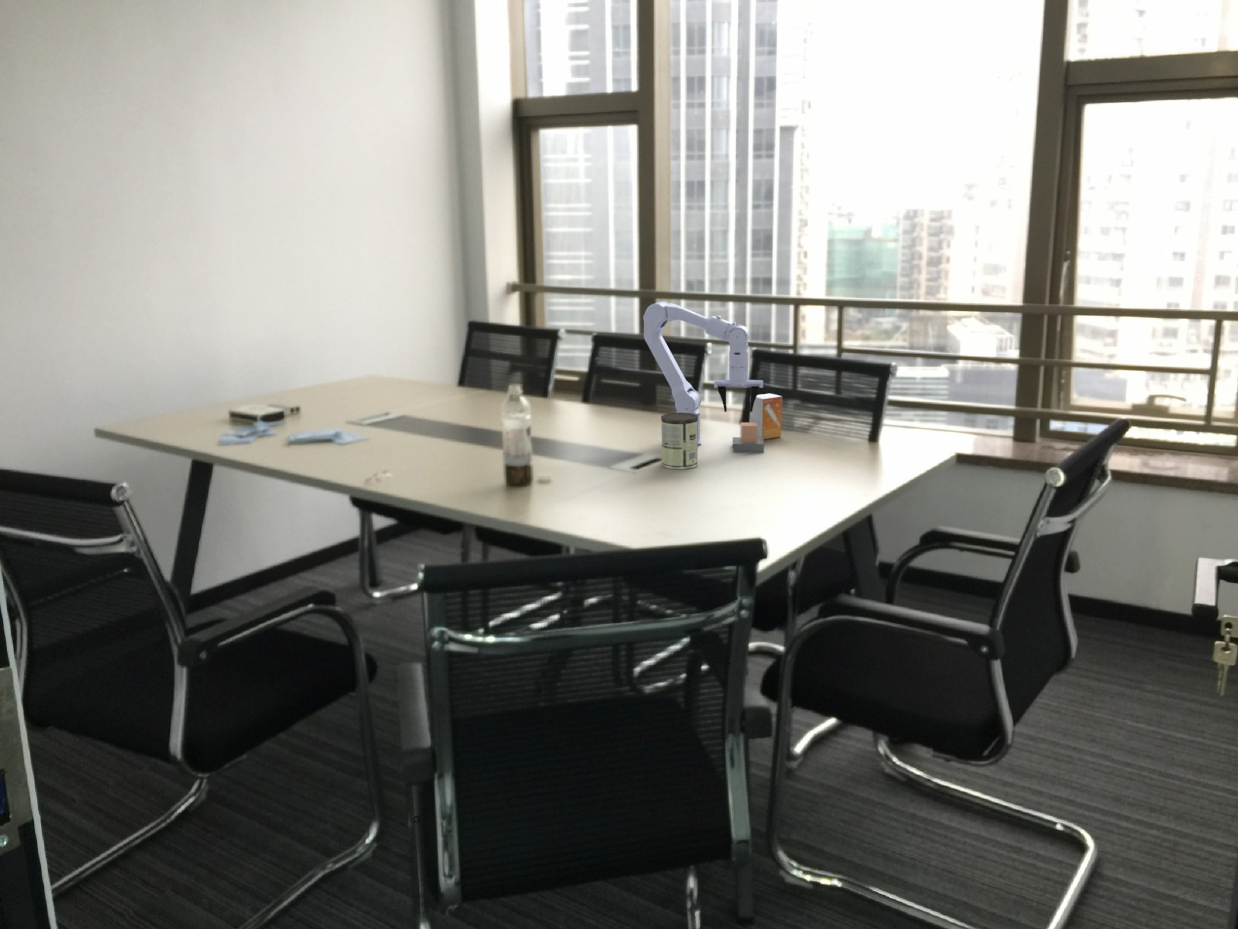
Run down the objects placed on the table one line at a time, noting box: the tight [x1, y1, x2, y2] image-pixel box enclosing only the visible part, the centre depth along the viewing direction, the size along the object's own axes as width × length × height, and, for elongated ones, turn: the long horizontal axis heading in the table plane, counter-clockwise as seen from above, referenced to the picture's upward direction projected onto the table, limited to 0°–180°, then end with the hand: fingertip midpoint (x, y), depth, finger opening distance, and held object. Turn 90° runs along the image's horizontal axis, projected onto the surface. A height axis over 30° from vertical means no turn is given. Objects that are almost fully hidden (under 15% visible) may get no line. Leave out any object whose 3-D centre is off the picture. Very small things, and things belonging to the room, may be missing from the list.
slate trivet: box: [732, 436, 765, 453], centre depth 320 cm, size 9×9×3 cm
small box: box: [749, 393, 783, 440], centre depth 333 cm, size 8×6×13 cm
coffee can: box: [660, 412, 699, 470], centre depth 300 cm, size 10×10×14 cm
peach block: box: [739, 421, 757, 442], centre depth 318 cm, size 4×4×5 cm
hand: (738, 411), depth 322 cm, fingers open, 7 cm apart
